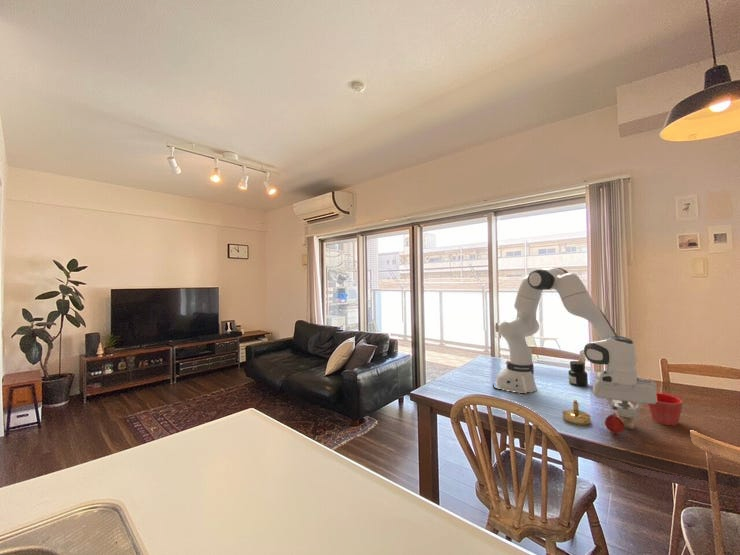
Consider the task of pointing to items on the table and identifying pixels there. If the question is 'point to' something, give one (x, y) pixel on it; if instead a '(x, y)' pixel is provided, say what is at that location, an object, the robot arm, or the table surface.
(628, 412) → the white flat block
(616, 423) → the red rounded piece
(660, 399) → the flower pot
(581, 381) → the ink bottle
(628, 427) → the stand
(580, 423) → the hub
